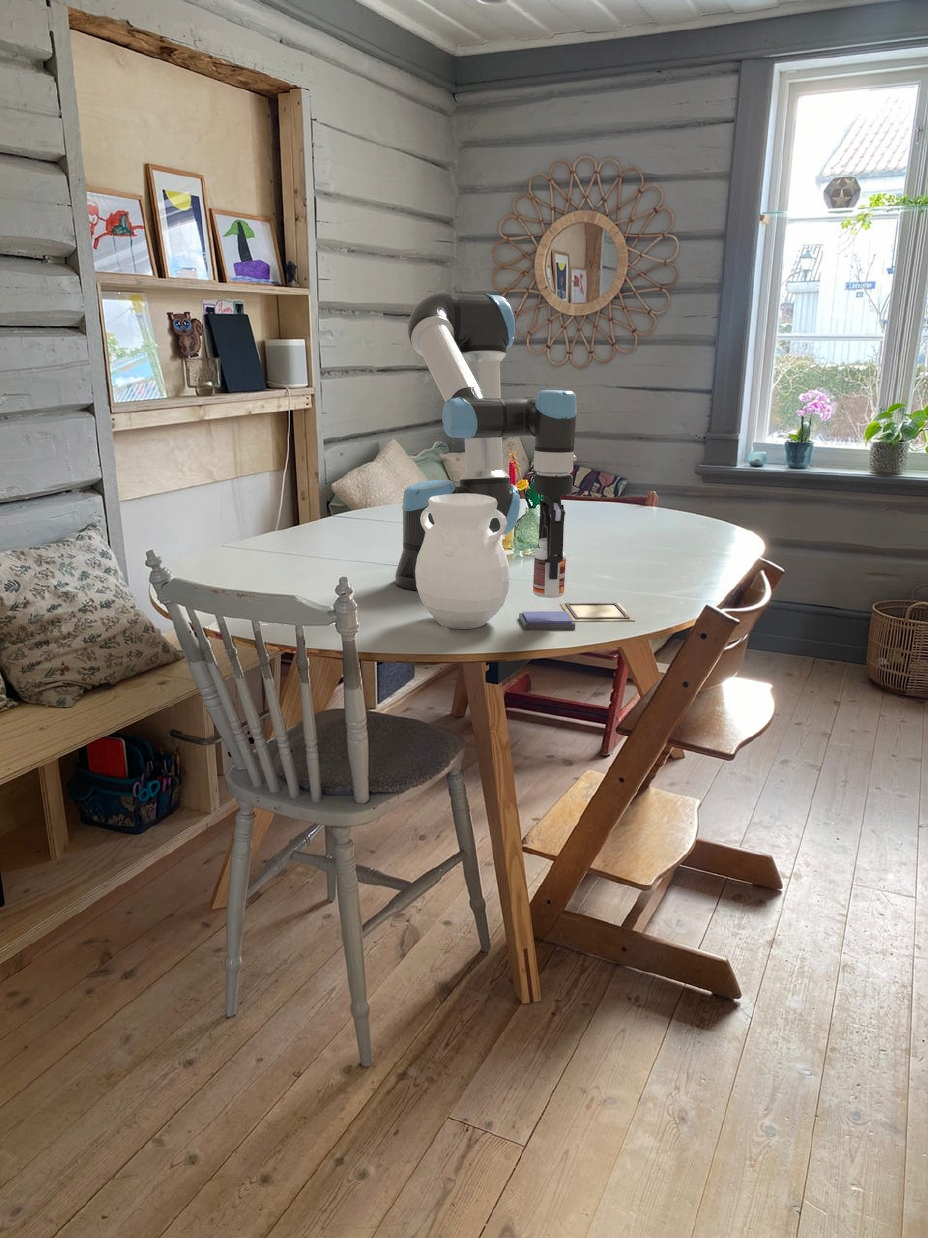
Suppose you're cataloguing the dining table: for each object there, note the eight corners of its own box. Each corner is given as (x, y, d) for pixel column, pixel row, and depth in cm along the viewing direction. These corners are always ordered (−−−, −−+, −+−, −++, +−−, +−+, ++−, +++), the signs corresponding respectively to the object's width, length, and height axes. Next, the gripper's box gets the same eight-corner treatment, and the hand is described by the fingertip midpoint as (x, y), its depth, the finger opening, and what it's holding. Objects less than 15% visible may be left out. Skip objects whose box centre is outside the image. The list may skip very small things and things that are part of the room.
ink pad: (524, 629, 186) (525, 622, 185) (518, 618, 193) (519, 610, 193) (575, 629, 187) (575, 621, 186) (567, 618, 194) (567, 610, 194)
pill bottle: (559, 600, 184) (561, 544, 181) (528, 596, 186) (530, 541, 183) (567, 592, 190) (570, 538, 187) (538, 589, 192) (540, 535, 189)
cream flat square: (572, 621, 192) (572, 619, 192) (560, 604, 204) (560, 602, 204) (634, 621, 193) (635, 618, 193) (619, 603, 206) (619, 601, 205)
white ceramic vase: (399, 629, 184) (399, 501, 177) (435, 606, 201) (437, 488, 194) (490, 641, 178) (494, 509, 171) (520, 616, 195) (524, 495, 187)
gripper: (583, 480, 173) (576, 602, 179) (563, 467, 191) (558, 578, 197) (542, 479, 172) (537, 602, 178) (526, 466, 190) (522, 578, 197)
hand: (548, 590), depth 188 cm, fingers closed on pill bottle, 6 cm apart
